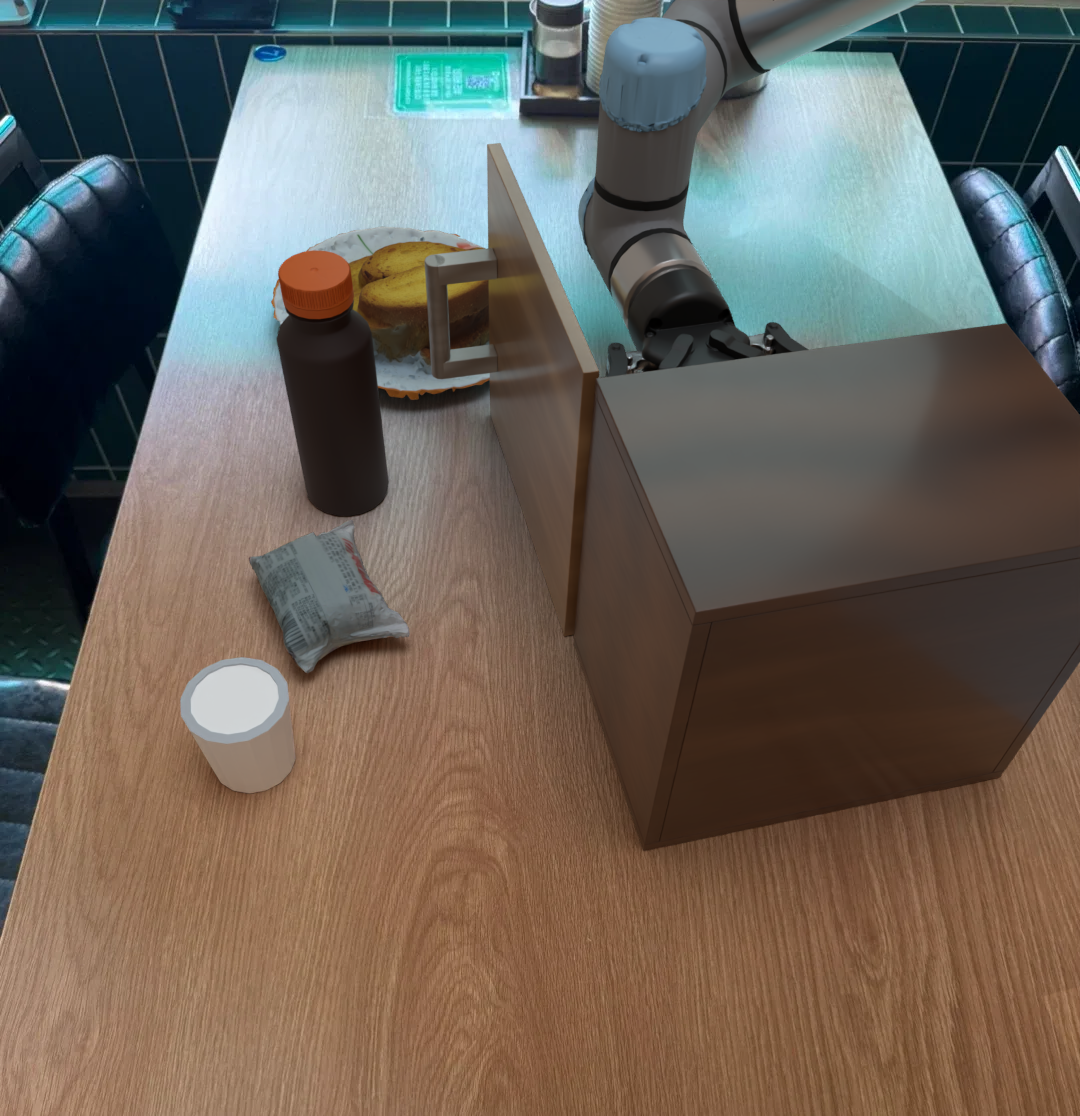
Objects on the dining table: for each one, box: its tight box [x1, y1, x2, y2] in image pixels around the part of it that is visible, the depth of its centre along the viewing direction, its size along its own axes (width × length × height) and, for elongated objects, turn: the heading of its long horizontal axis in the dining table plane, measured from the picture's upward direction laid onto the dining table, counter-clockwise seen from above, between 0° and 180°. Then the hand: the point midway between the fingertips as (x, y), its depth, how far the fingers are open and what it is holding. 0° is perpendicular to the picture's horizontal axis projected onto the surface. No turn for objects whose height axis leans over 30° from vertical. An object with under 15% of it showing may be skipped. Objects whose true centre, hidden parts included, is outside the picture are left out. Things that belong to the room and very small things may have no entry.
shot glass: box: [179, 656, 297, 794], centre depth 73 cm, size 7×7×7 cm
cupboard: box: [573, 322, 1080, 852], centre depth 70 cm, size 18×26×24 cm
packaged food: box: [248, 519, 410, 674], centre depth 81 cm, size 9×12×5 cm
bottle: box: [276, 250, 389, 517], centre depth 83 cm, size 7×7×20 cm
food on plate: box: [270, 226, 490, 401], centre depth 101 cm, size 25×25×7 cm
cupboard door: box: [425, 142, 600, 637], centre depth 80 cm, size 6×26×24 cm, turn 14°
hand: (769, 493), depth 74 cm, fingers open, 13 cm apart
